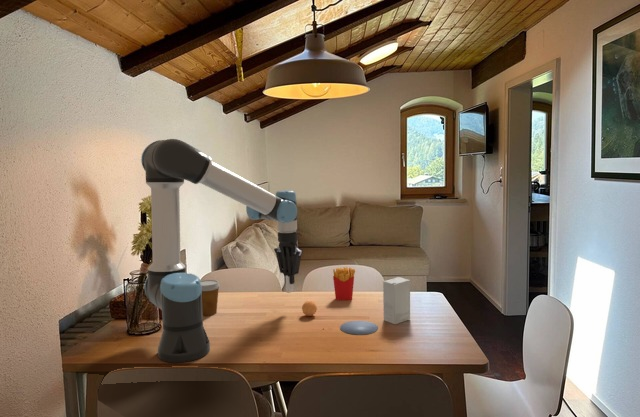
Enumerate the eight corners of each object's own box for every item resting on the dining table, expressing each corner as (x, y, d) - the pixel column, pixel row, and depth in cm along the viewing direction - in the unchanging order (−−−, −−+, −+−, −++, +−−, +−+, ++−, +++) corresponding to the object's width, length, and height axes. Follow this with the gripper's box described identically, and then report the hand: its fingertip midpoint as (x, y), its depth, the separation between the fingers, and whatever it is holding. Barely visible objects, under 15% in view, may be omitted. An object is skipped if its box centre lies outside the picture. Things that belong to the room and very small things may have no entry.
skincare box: (398, 315, 169) (398, 276, 168) (411, 320, 164) (411, 279, 163) (382, 320, 164) (382, 280, 163) (394, 325, 159) (394, 283, 158)
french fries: (333, 300, 189) (333, 269, 188) (333, 297, 194) (333, 267, 192) (355, 300, 189) (355, 269, 188) (355, 297, 193) (354, 266, 192)
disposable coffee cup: (224, 309, 181) (222, 279, 179) (216, 317, 171) (214, 286, 170) (200, 309, 182) (199, 279, 180) (191, 317, 172) (190, 285, 171)
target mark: (364, 337, 149) (364, 337, 148) (332, 329, 156) (332, 328, 156) (385, 326, 159) (385, 325, 159) (353, 318, 167) (353, 318, 167)
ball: (310, 319, 167) (310, 304, 167) (299, 316, 171) (298, 301, 170) (319, 315, 172) (319, 300, 171) (308, 312, 175) (308, 298, 174)
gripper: (307, 231, 173) (309, 291, 176) (281, 228, 181) (284, 286, 184) (293, 234, 167) (296, 296, 170) (268, 231, 175) (270, 291, 178)
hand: (289, 291), depth 177 cm, fingers closed
